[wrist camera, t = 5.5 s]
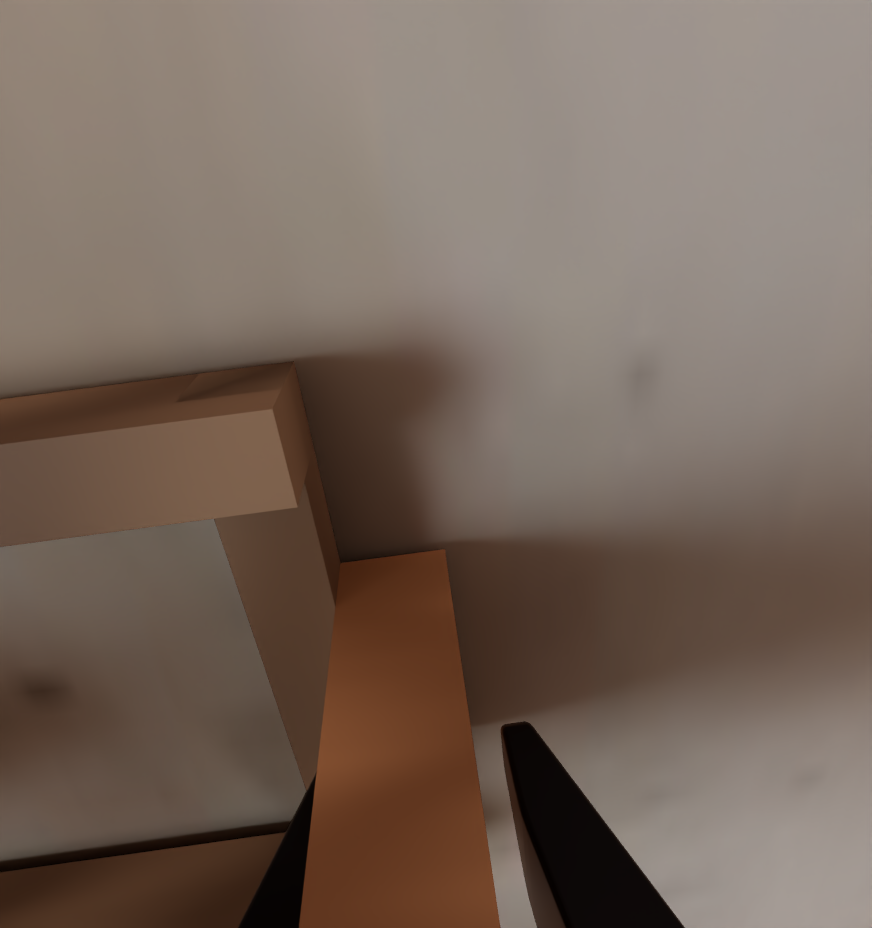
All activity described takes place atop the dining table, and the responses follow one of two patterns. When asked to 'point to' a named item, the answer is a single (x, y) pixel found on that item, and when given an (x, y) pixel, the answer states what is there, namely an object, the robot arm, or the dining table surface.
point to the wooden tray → (269, 658)
